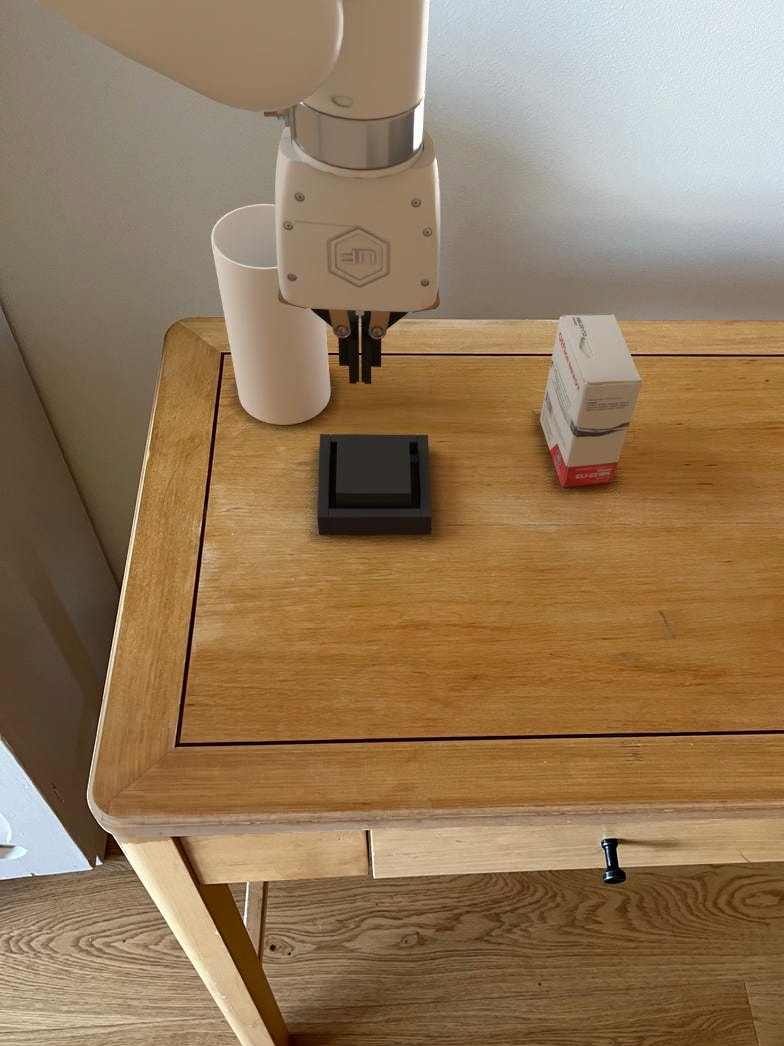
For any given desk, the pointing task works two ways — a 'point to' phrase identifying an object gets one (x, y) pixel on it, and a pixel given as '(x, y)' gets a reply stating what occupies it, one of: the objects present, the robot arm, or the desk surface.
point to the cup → (267, 323)
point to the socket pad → (374, 519)
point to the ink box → (588, 398)
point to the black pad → (373, 474)
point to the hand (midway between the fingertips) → (360, 370)
